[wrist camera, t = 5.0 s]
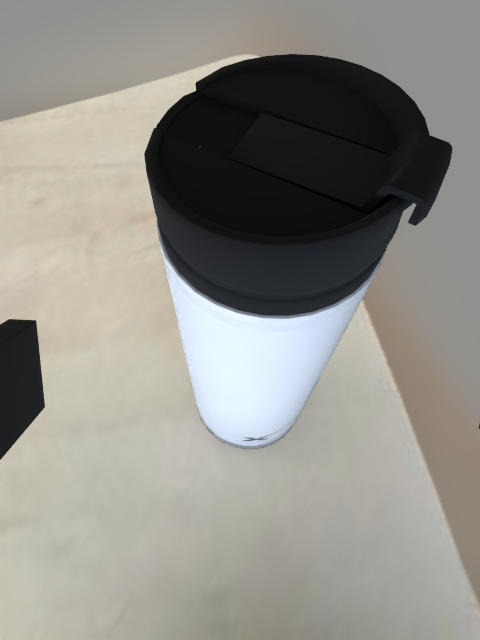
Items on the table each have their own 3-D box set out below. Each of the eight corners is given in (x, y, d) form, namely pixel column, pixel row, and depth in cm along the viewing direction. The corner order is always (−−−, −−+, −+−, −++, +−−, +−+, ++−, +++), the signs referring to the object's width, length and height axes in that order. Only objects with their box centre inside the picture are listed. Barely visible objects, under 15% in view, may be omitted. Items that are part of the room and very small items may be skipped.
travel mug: (276, 473, 25) (392, 299, 7) (176, 416, 27) (69, 151, 9) (322, 380, 28) (492, 81, 10) (228, 332, 29) (229, -9, 11)
